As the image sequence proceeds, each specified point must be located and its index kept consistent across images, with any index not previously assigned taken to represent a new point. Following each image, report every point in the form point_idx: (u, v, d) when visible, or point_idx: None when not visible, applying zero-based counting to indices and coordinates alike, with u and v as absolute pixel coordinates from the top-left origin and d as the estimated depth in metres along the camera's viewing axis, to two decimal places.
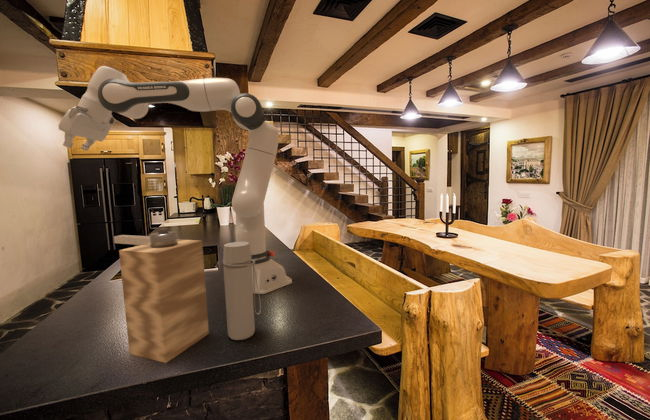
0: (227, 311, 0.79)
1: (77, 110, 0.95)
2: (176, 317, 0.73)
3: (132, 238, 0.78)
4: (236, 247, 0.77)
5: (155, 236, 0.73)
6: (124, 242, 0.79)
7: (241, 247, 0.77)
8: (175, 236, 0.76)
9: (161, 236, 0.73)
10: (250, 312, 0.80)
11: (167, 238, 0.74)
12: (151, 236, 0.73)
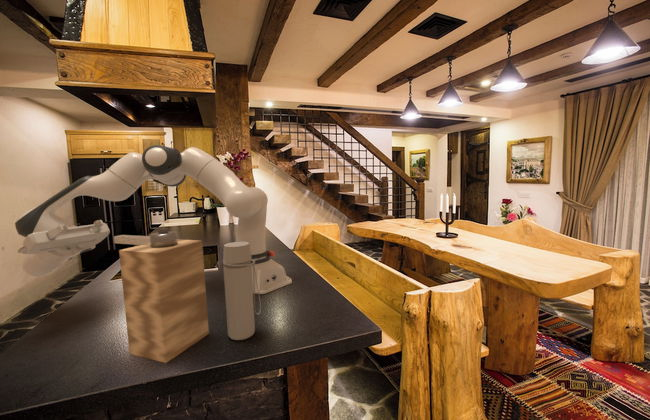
0: (227, 311, 0.79)
1: None
2: (176, 317, 0.73)
3: (132, 238, 0.78)
4: (236, 247, 0.77)
5: (155, 236, 0.73)
6: (124, 242, 0.79)
7: (241, 247, 0.77)
8: (175, 236, 0.76)
9: (161, 236, 0.73)
10: (250, 312, 0.80)
11: (167, 238, 0.74)
12: (151, 236, 0.73)
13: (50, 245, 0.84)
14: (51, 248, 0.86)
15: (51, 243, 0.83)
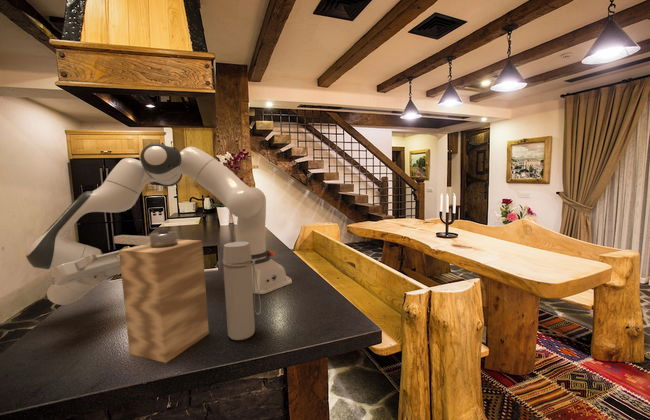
0: (227, 311, 0.79)
1: None
2: (176, 317, 0.73)
3: (132, 238, 0.78)
4: (236, 247, 0.77)
5: (155, 236, 0.73)
6: (124, 242, 0.79)
7: (241, 247, 0.77)
8: (175, 236, 0.76)
9: (161, 236, 0.73)
10: (250, 312, 0.80)
11: (167, 238, 0.74)
12: (151, 236, 0.73)
13: (79, 275, 0.81)
14: (79, 277, 0.83)
15: (80, 273, 0.80)
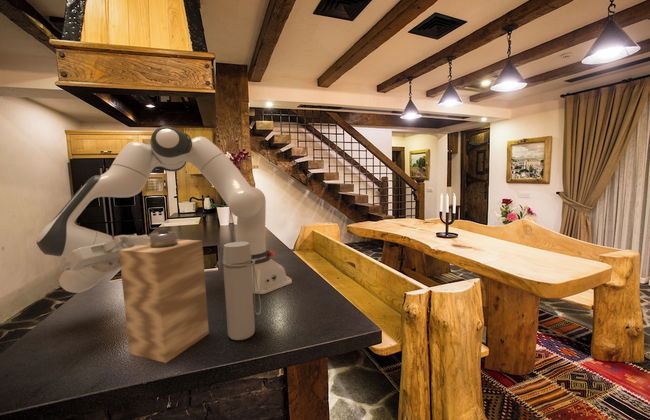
0: (227, 311, 0.79)
1: None
2: (176, 317, 0.73)
3: (132, 238, 0.78)
4: (236, 247, 0.77)
5: (155, 236, 0.73)
6: (124, 242, 0.79)
7: (241, 247, 0.77)
8: (175, 236, 0.76)
9: (161, 236, 0.73)
10: (250, 312, 0.80)
11: (167, 238, 0.74)
12: (151, 236, 0.73)
13: (94, 261, 0.78)
14: (94, 263, 0.80)
15: (96, 258, 0.77)
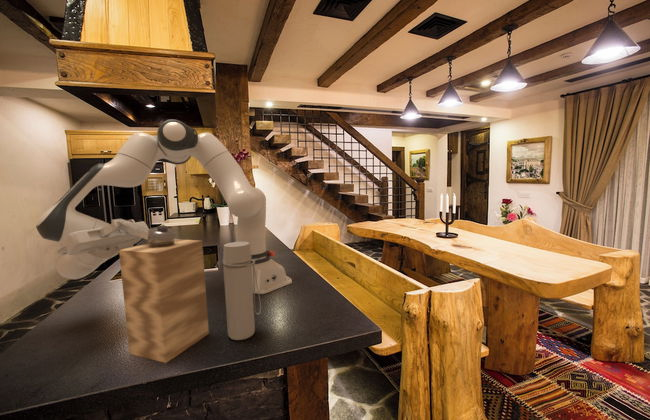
0: (227, 311, 0.79)
1: None
2: (176, 317, 0.73)
3: (130, 227, 0.78)
4: (236, 247, 0.77)
5: (154, 234, 0.73)
6: (121, 228, 0.79)
7: (241, 247, 0.77)
8: (173, 236, 0.76)
9: (160, 235, 0.73)
10: (250, 312, 0.80)
11: (165, 238, 0.74)
12: (150, 233, 0.73)
13: (91, 245, 0.77)
14: (91, 248, 0.80)
15: (93, 243, 0.77)
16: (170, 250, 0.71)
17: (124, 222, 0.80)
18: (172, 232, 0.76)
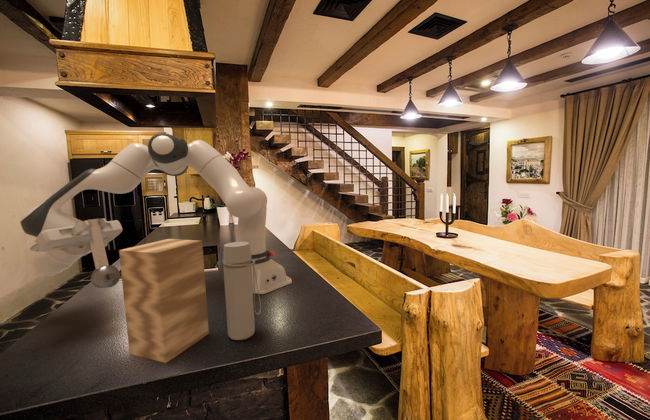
0: (227, 311, 0.79)
1: None
2: (176, 317, 0.73)
3: (94, 244, 0.84)
4: (236, 247, 0.77)
5: (98, 281, 0.82)
6: (88, 234, 0.84)
7: (241, 247, 0.77)
8: None
9: (102, 286, 0.83)
10: (250, 312, 0.80)
11: (104, 287, 0.84)
12: (97, 277, 0.82)
13: (63, 243, 0.81)
14: (64, 246, 0.84)
15: (64, 240, 0.81)
16: (170, 250, 0.71)
17: (95, 231, 0.84)
18: (114, 282, 0.86)
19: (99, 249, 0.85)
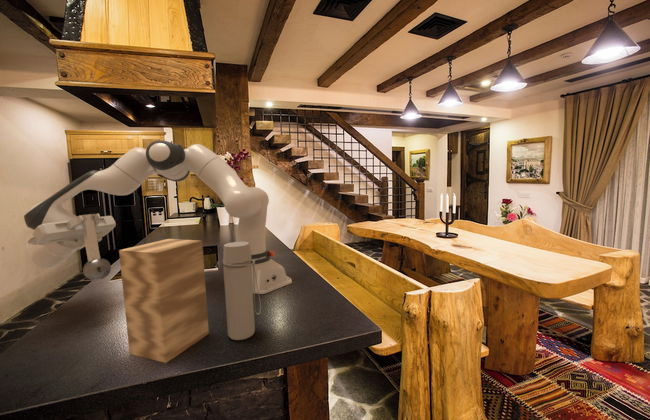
0: (227, 311, 0.79)
1: None
2: (176, 317, 0.73)
3: (87, 238, 0.89)
4: (236, 247, 0.77)
5: (90, 273, 0.88)
6: (82, 228, 0.89)
7: (241, 247, 0.77)
8: None
9: (93, 277, 0.89)
10: (250, 312, 0.80)
11: None
12: (89, 269, 0.88)
13: (59, 236, 0.87)
14: (60, 239, 0.89)
15: (60, 234, 0.86)
16: (170, 250, 0.71)
17: (89, 225, 0.90)
18: (105, 274, 0.92)
19: (92, 243, 0.90)
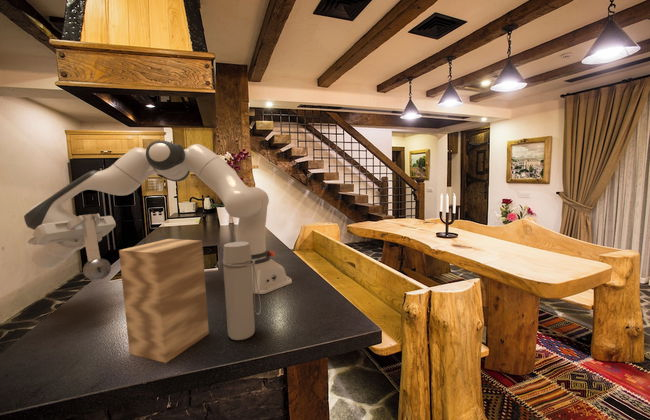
0: (227, 311, 0.79)
1: None
2: (176, 317, 0.73)
3: (87, 238, 0.89)
4: (236, 247, 0.77)
5: (90, 273, 0.88)
6: (82, 228, 0.89)
7: (241, 247, 0.77)
8: None
9: (93, 277, 0.89)
10: (250, 312, 0.80)
11: None
12: (89, 269, 0.88)
13: (59, 236, 0.87)
14: (60, 239, 0.89)
15: (60, 234, 0.86)
16: (170, 250, 0.71)
17: (89, 225, 0.90)
18: (105, 274, 0.92)
19: (92, 243, 0.90)
